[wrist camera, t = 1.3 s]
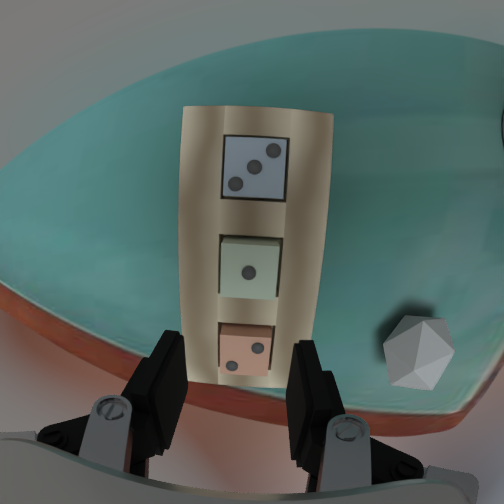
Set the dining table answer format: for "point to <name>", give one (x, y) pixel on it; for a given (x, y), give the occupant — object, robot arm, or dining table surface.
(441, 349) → the die
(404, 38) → the dining table surface
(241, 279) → the button one
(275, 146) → the button three
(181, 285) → the button board
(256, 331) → the button two
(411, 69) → the dining table surface
